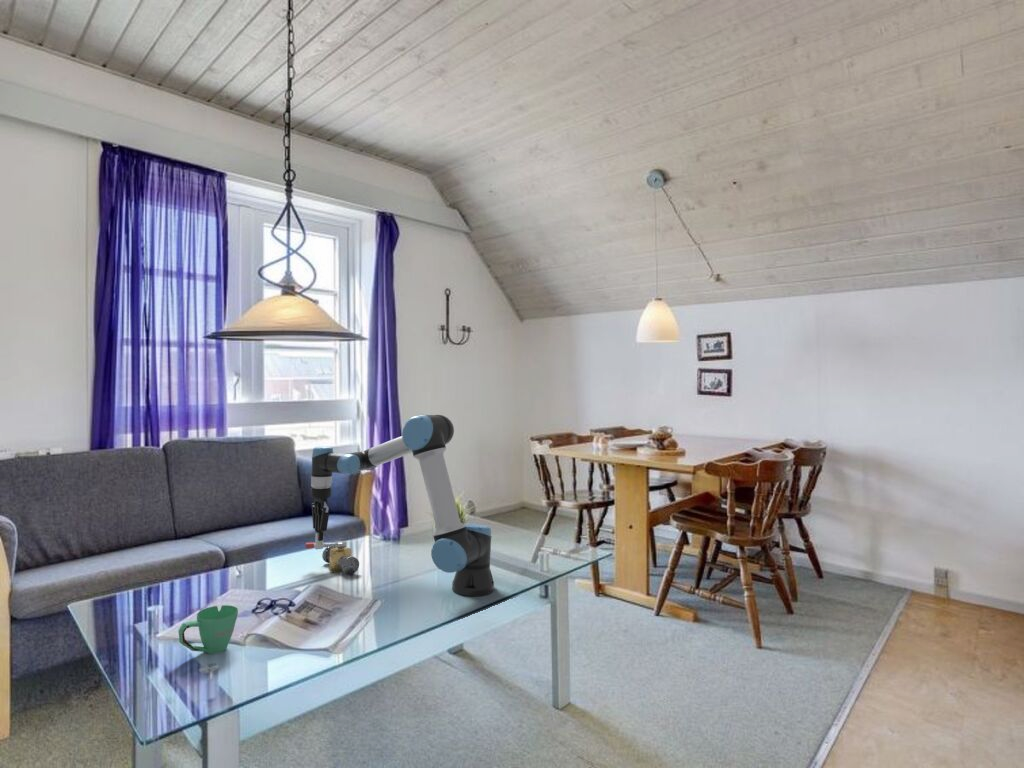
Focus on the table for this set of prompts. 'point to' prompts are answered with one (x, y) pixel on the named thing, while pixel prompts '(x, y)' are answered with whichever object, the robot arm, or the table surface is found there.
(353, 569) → the valve body
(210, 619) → the mug
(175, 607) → the table surface
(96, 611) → the table surface
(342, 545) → the lever
